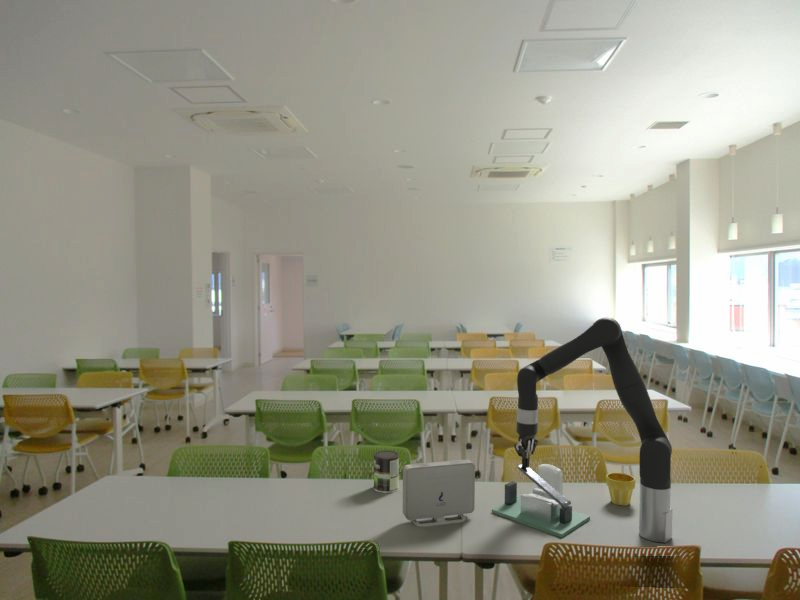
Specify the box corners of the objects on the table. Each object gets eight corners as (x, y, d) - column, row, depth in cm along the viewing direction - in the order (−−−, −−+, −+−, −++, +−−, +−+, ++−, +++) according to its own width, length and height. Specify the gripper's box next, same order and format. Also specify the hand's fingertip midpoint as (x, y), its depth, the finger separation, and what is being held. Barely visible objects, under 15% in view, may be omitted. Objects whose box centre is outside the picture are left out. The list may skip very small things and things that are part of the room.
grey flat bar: (569, 505, 194) (571, 502, 194) (563, 509, 191) (565, 505, 191) (523, 465, 207) (524, 462, 207) (516, 468, 204) (518, 465, 204)
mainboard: (589, 519, 198) (590, 516, 197) (561, 537, 183) (561, 534, 183) (521, 497, 217) (521, 494, 217) (491, 512, 203) (491, 509, 203)
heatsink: (575, 517, 196) (575, 497, 196) (561, 526, 189) (561, 505, 189) (515, 498, 213) (515, 479, 213) (500, 505, 206) (500, 486, 206)
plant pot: (607, 506, 209) (607, 480, 209) (604, 495, 219) (604, 471, 219) (637, 509, 207) (637, 482, 207) (632, 498, 217) (632, 473, 217)
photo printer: (535, 493, 221) (535, 463, 221) (542, 491, 224) (542, 460, 224) (557, 501, 213) (558, 469, 213) (564, 499, 216) (564, 467, 216)
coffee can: (377, 494, 220) (377, 459, 219) (370, 485, 230) (370, 451, 229) (402, 491, 223) (402, 456, 222) (394, 482, 233) (394, 449, 232)
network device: (407, 528, 190) (407, 470, 189) (400, 518, 198) (400, 462, 197) (476, 520, 196) (477, 464, 196) (467, 510, 205) (467, 456, 204)
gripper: (526, 425, 196) (524, 474, 197) (545, 419, 205) (544, 465, 206) (508, 421, 201) (506, 468, 202) (528, 415, 211) (526, 460, 211)
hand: (525, 467), depth 204 cm, fingers closed
